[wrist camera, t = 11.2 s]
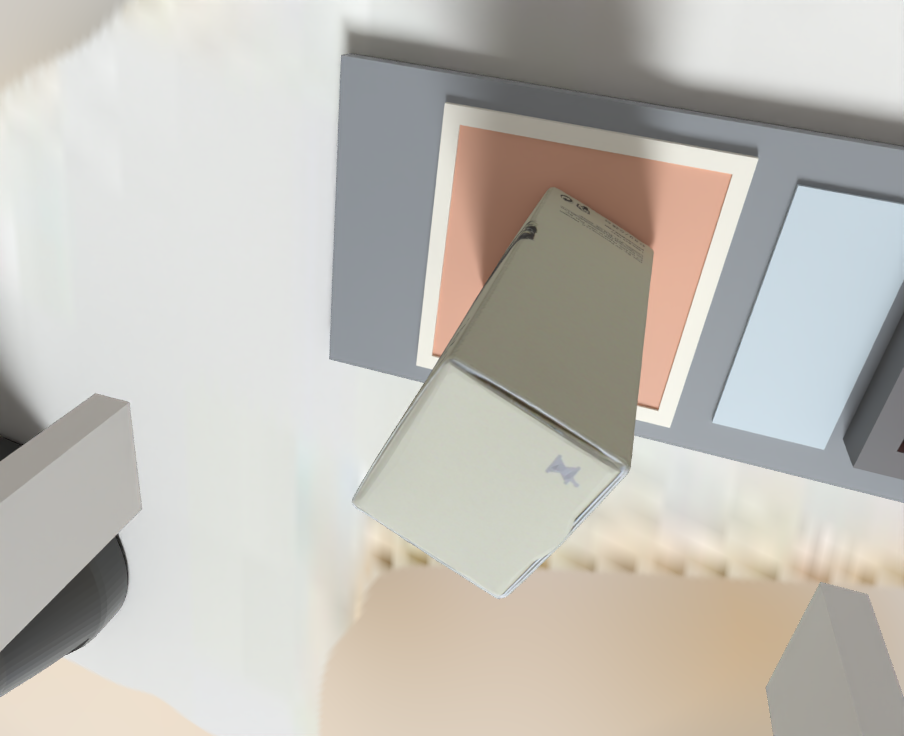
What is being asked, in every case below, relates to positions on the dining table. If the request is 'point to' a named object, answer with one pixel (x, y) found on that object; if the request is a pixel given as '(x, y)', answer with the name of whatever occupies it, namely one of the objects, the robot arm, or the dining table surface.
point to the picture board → (662, 229)
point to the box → (523, 403)
